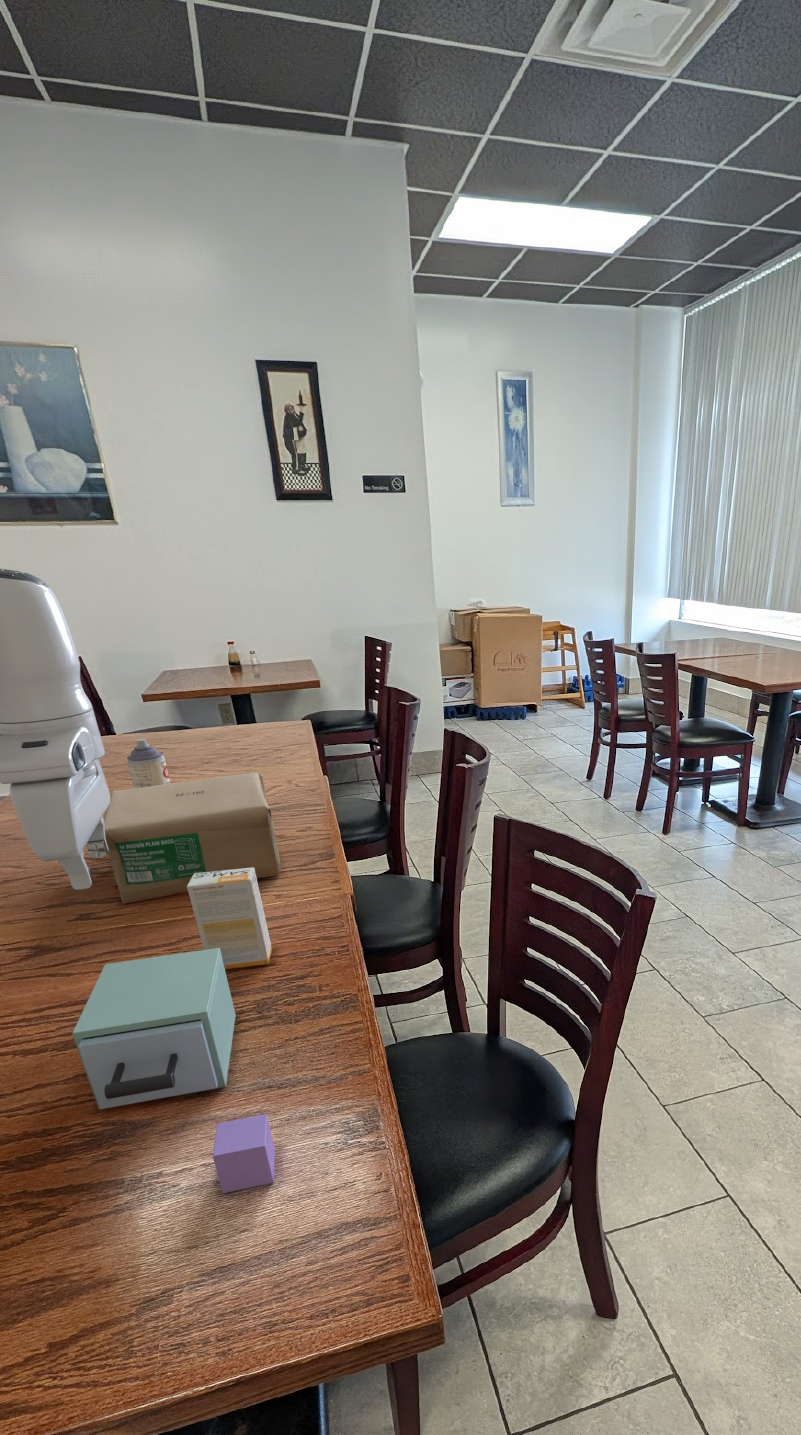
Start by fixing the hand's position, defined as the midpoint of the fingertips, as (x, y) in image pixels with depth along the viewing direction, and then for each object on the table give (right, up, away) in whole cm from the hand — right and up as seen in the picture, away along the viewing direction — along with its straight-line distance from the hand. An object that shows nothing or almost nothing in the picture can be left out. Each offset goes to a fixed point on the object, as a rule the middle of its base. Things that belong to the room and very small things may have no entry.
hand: (92, 870), depth 82 cm
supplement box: (+7, -11, +25) cm, 28 cm away
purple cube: (+21, -29, -12) cm, 38 cm away
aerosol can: (-27, +12, +75) cm, 80 cm away
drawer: (+8, -22, 0) cm, 24 cm away
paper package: (-12, +4, +58) cm, 59 cm away
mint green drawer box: (+7, -21, +4) cm, 23 cm away
